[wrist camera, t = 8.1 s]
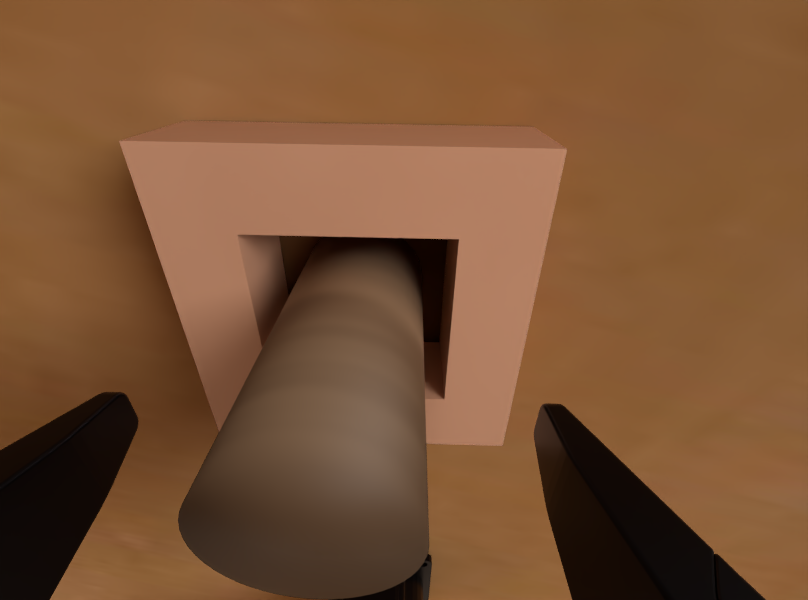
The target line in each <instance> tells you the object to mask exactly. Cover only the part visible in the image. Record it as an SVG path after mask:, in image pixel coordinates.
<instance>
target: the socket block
mask: <svg viewBox="0 0 808 600" xmlns="http://www.w3.org/2000/svg"><path fill="white" fill-rule="evenodd" d="M119 142H120V145H121V148H122V151H123V154H124V157H125V160H126V163H127V165H128V168H129V171H130V174H131V177H132V180H133V183H134V186H135V189H136V192H137V195H138V198H139V200H140V203H141V206H142V209H143V212H144V215H145V218H146V221H147V224H148V227H149V230H150V233H151V235H152V238H153V241H154V244H155V247H156V250H157V253H158V256H159V259H160V262H161V265H162V267H163V270H164V273H165V276H166V279H167V282H168V285H169V288H170V291H171V294H172V297H173V300H174V302H175V305H176V308H177V311H178V314H179V317H180V320H181V323H182V326H183V329H184V332H185V335H186V337H187V340H188V343H189V346H190V349H191V352H192V355H193V358H194V361H195V364H196V367H197V369H198V372H199V375H200V378H201V381H202V384H203V387H204V390H205V393H206V396H207V399H208V402H209V404H210V407H211V410H212V413H213V416H214V419H215V422H216V425H217V428H218V431H220V429H221V427H222V426H223V424H224V422H225V420H226V418H227V416H228V414H229V412H230V410H231V408H232V406H233V404H234V402H235V400H236V398H237V396H238V394H239V392H240V391H241V389H242V387H243V385H244V383H245V381H246V379H247V377H248V375H249V373H250V371H251V369H252V367H253V365H254V363H255V361H256V359H257V358H258V356H259V354H260V352H261V350H262V348H263V346H264V344H265V342H266V340H267V338H268V336H269V334H270V332H271V330H272V328H273V326H274V324H275V323H276V321H277V319H278V317H279V315H280V313H281V311H282V309H283V307H284V305H285V303H286V301H287V299H288V297H289V294H288V288H287V282H286V276H285V270H284V264H283V258H282V251H281V245H280V239H279V235H281V236H328V237H376V238H424V239H447V250H446V263H445V277H444V290H443V304H442V317H441V330H440V342H424V378H425V415H426V444H454V445H490V446H503V442H504V438H505V433H506V428H507V424H508V419H509V415H510V410H511V405H512V401H513V396H514V392H515V387H516V382H517V378H518V373H519V369H520V364H521V359H522V355H523V350H524V346H525V341H526V336H527V332H528V327H529V323H530V318H531V313H532V309H533V304H534V300H535V295H536V290H537V286H538V281H539V277H540V272H541V267H542V263H543V258H544V253H545V249H546V244H547V240H548V235H549V230H550V226H551V221H552V217H553V212H554V207H555V203H556V198H557V194H558V189H559V184H560V180H561V175H562V171H563V166H564V161H565V157H566V152H567V148H565V147H564V146H562V145H561V144H559V143H557V142H556V141H554V140H553V139H551V138H550V137H548V136H547V135H545V134H544V133H542V132H541V131H539V130H538V129H536V128H534V127H519V126H461V125H403V124H345V123H287V122H228V121H182V122H179V123H175V124H172V125H169V126H166V127H162V128H159V129H156V130H153V131H149V132H146V133H143V134H140V135H136V136H133V137H130V138H127V139H123V140H120V141H119Z"/></svg>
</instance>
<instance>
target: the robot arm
mask: <svg viewBox="0 0 808 600" xmlns="http://www.w3.org/2000/svg"><path fill="white" fill-rule="evenodd" d="M137 428H138V417H137V415H136V413H135V411H134V409H133V407H132V405H131V403H130V401H129V399H128V397H127V395H126V394H124V393H121V392H104V393H101V394H99V395H97V396H95V397H93V398H92V399H90V400H88V401H86V402H85V403H83V404H81V405H79V406H78V407H76V408H74V409H72V410H70V411H69V412H67V413H65V414H63V415H62V416H60V417H58V418H56V419H55V420H53V421H51V422H49V423H48V424H46V425H44V426H42V427H41V428H39V429H37V430H35V431H34V432H32V433H30V434H28V435H26V436H25V437H23V438H21V439H19V440H18V441H16V442H14V443H12V444H11V445H9V446H7V447H5V448H4V449H2V450H0V600H50V598H51V596H52V594H53V593H54V591H55V589H56V587H57V585H58V584H59V582H60V580H61V578H62V577H63V575H64V573H65V571H66V569H67V568H68V566H69V564H70V562H71V561H72V559H73V557H74V555H75V553H76V552H77V550H78V548H79V546H80V544H81V543H82V541H83V539H84V537H85V536H86V534H87V532H88V530H89V528H90V527H91V525H92V523H93V521H94V520H95V518H96V516H97V514H98V512H99V511H100V509H101V507H102V505H103V503H104V501H105V499H106V498H107V495H108V493H109V491H110V489H111V487H112V485H113V483H114V480H115V478H116V476H117V474H118V471H119V469H120V467H121V465H122V462H123V460H124V458H125V456H126V453H127V451H128V449H129V446H130V444H131V442H132V440H133V437H134V435H135V433H136V431H137ZM534 441H535V447H536V452H537V458H538V464H539V469H540V475H541V481H542V487H543V492H544V498H545V503H546V508H547V513H548V516H549V520H550V524H551V527H552V531H553V534H554V538H555V541H556V545H557V548H558V552H559V555H560V559H561V562H562V565H563V569H564V572H565V576H566V579H567V583H568V586H569V590H570V593H571V597H572V600H766V599H765V598H763V597H762V596H761V595H760V594H759V593H758V592H757V591H756V590H755V589H754V588H753V587H752V586H751V585H750V584H748V583H747V582H746V581H745V580H744V579H743V578H742V577H741V576H740V575H739V574H738V573H737V572H736V571H735V570H734V569H733V568H732V567H731V566H730V565H728V564H727V563H726V562H725V561H724V560H723V559H722V558H721V557H720V556H719V555H718V554H714V551H713V549H712V548H711V547H710V546H709V545H708V544H706V543H705V542H704V541H703V540H702V539H701V538H700V537H699V536H698V535H697V534H696V533H695V532H694V531H693V530H692V529H691V528H690V527H689V526H688V525H687V524H686V523H685V522H684V521H683V520H682V519H681V518H680V517H679V516H677V515H676V514H675V513H674V512H673V511H672V510H671V509H670V508H669V507H668V506H667V505H666V504H665V503H664V502H663V501H662V500H661V499H660V498H659V497H658V496H657V495H656V494H655V493H654V492H653V491H652V490H651V489H650V488H648V487H647V486H646V485H645V484H644V483H643V482H642V481H641V480H640V479H639V478H638V477H637V476H636V475H635V474H634V473H633V472H632V471H631V470H630V469H629V468H628V467H627V466H626V465H625V464H624V463H623V462H622V461H620V460H619V459H618V458H617V457H616V456H615V455H614V454H613V453H612V452H611V451H610V450H609V449H608V448H607V447H606V446H605V445H604V444H603V443H602V442H601V441H600V440H599V439H598V438H597V437H596V436H595V435H594V434H593V433H591V432H590V431H589V430H588V429H587V428H586V427H585V426H584V425H583V424H582V423H581V422H580V421H579V420H578V419H577V418H576V417H575V416H574V415H573V414H572V413H571V412H570V411H569V410H568V409H567V408H566V407H564V406H563V405H561V404H543V405H542V406H541V407H540V410H539V414H538V418H537V422H536V425H535V429H534ZM431 566H432V561H431V556H430V555H429V554H428V555H427V557H426V559H425V561H424V563H423V564H422V566H421V567H420V568H419V570H418V571H417V572H415V573H414V574H413V575H412V576H411V577H410V578H408V579H407V580H405V581H404V582H402V583H400V584H398V585H396V586H394V587H392V588H389V589H386V590H384V591H381V592H377V593H374V594H370V595H365V596H360V597H353V598H344V599H328V600H428V597H429V587H430V576H431Z"/></svg>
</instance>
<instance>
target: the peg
mask: <svg viewBox="0 0 808 600" xmlns="http://www.w3.org/2000/svg"><path fill="white" fill-rule="evenodd" d="M178 523H179V530H180V532H181V535H182V537H183V540H184V541H185V543H186V544H187V546H188V547H189V549H190V550H191V551H192V552H193V553H194V554H195V555H196V556H197V557H198V558H199V559H200V560H201V561H203V562H204V563H205V564H206V565H208V566H209V567H211V568H212V569H213V570H215V571H217V572H219V573H220V574H222V575H224V576H226V577H228V578H230V579H232V580H234V581H236V582H239V583H241V584H244V585H247V586H249V587H252V588H255V589H259V590H262V591H266V592H270V593H274V594H279V595H284V596H290V597H298V598H307V599H344V598H353V597H360V596H365V595H370V594H374V593H377V592H381V591H384V590H386V589H389V588H392V587H394V586H396V585H398V584H400V583H402V582H404V581H405V580H407V579H408V578H410V577H411V576H412V575H413V574H414V573H415V572H417V571H418V570H419V568H420V567H421V566H422V564H423V563H424V561H425V559H426V557H427V555H428V550H429V523H428V487H427V451H426V415H425V378H424V342H423V306H422V271H421V266H420V263H419V260H418V257H417V255H416V253H415V252H414V250H413V249H412V247H411V246H410V245H409V244H408V243H407V241H406V240H404V239H403V238H376V237H328V236H324V237H322V238H321V239H320V241H319V242H318V243H317V244H316V246H315V247H314V249H313V251H312V253H311V255H310V256H309V258H308V260H307V262H306V264H305V266H304V268H303V270H302V272H301V274H300V276H299V278H298V280H297V282H296V284H295V286H294V288H293V290H292V291H291V293H290V295H289V297H288V299H287V301H286V303H285V305H284V307H283V309H282V311H281V313H280V315H279V317H278V319H277V321H276V323H275V324H274V326H273V328H272V330H271V332H270V334H269V336H268V338H267V340H266V342H265V344H264V346H263V348H262V350H261V352H260V354H259V356H258V358H257V359H256V361H255V363H254V365H253V367H252V369H251V371H250V373H249V375H248V377H247V379H246V381H245V383H244V385H243V387H242V389H241V391H240V392H239V394H238V396H237V398H236V400H235V402H234V404H233V406H232V408H231V410H230V412H229V414H228V416H227V418H226V420H225V422H224V424H223V426H222V427H221V429H220V431H219V433H218V435H217V437H216V439H215V441H214V443H213V445H212V447H211V449H210V451H209V453H208V455H207V457H206V459H205V460H204V462H203V464H202V466H201V468H200V470H199V472H198V474H197V476H196V478H195V480H194V482H193V484H192V486H191V488H190V490H189V492H188V494H187V495H186V497H185V499H184V501H183V503H182V506H181V508H180V511H179V518H178Z"/></svg>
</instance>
